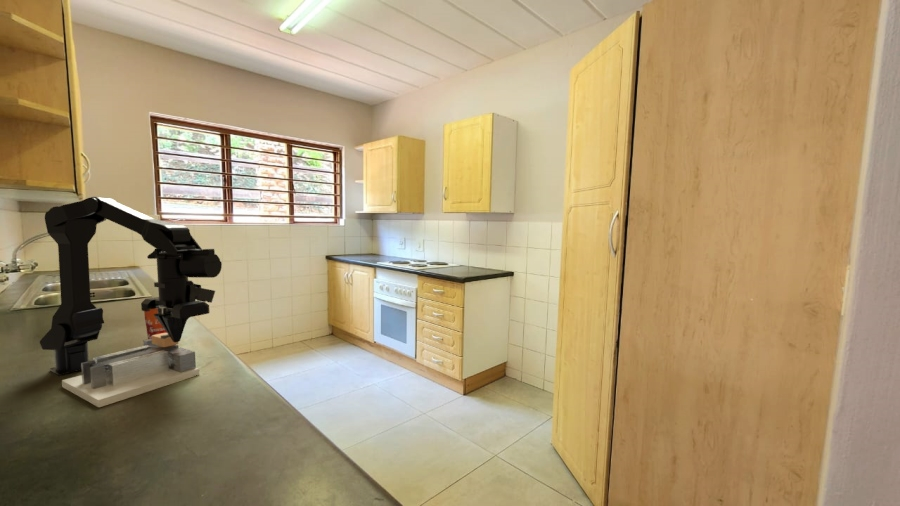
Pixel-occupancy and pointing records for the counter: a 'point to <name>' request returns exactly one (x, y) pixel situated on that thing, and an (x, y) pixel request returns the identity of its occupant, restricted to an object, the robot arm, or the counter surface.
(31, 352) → the counter surface
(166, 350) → the grey lever
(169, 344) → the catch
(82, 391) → the board
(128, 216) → the robot arm
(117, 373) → the grey piece
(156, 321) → the paper cup
